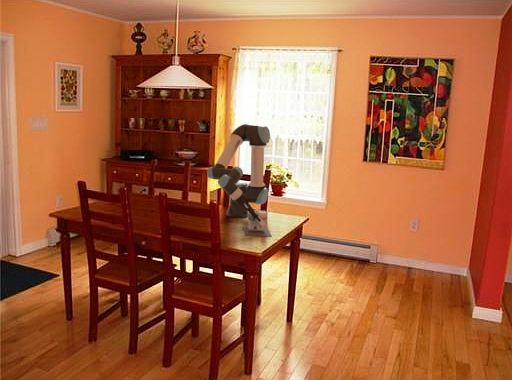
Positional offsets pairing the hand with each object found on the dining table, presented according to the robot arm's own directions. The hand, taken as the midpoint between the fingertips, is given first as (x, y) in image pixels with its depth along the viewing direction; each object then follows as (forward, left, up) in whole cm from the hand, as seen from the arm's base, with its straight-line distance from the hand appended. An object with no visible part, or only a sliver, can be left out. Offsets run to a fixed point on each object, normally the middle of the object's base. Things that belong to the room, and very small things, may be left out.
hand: (262, 223), depth 295 cm
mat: (0, -3, -6) cm, 7 cm away
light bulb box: (0, -3, -4) cm, 5 cm away
